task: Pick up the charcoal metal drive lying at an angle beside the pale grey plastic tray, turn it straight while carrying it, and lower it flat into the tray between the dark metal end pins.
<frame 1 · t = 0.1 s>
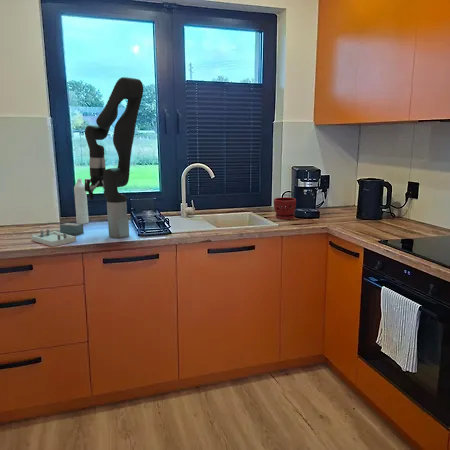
hand: (98, 198, 209), 17 cm above the worktop, tool pointing down, fingers open, 8 cm apart
drive: (72, 234, 209), on the worktop
plant pot: (284, 218, 248), on the worktop
water bottle: (84, 223, 235), on the worktop
tray: (53, 240, 195), on the worktop
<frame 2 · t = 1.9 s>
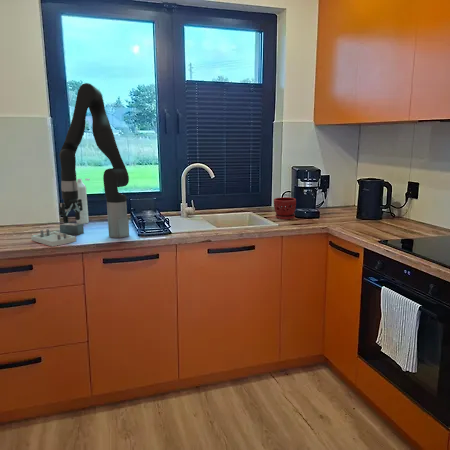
hand: (71, 221, 209), 6 cm above the worktop, tool pointing down, fingers open, 8 cm apart
nothing on the worktop moved.
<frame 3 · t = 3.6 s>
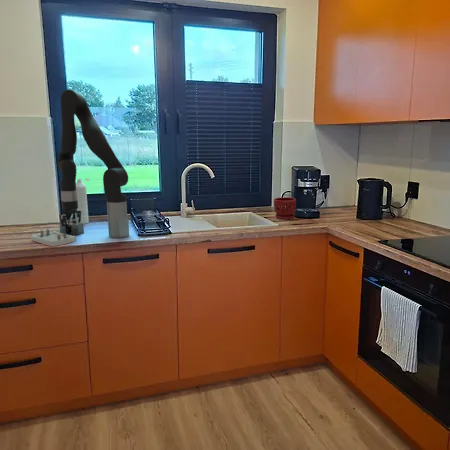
hand: (72, 232, 209), 1 cm above the worktop, tool pointing down, fingers closed on drive, 5 cm apart
drive: (72, 233, 209), on the worktop, touching gripper
everything else where it was.
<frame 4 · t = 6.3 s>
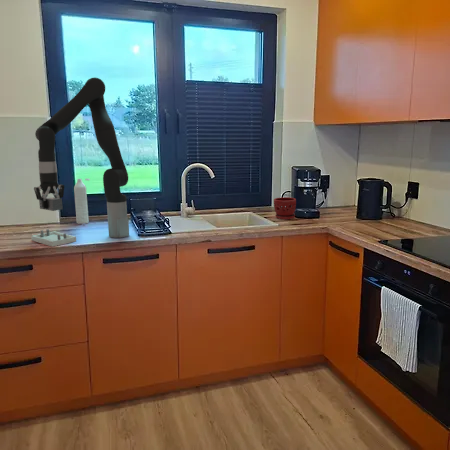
hand: (51, 207, 193), 16 cm above the worktop, tool pointing down, fingers closed on drive, 5 cm apart
drive: (51, 208, 193), point 15 cm above the worktop, touching gripper
everything else where it was.
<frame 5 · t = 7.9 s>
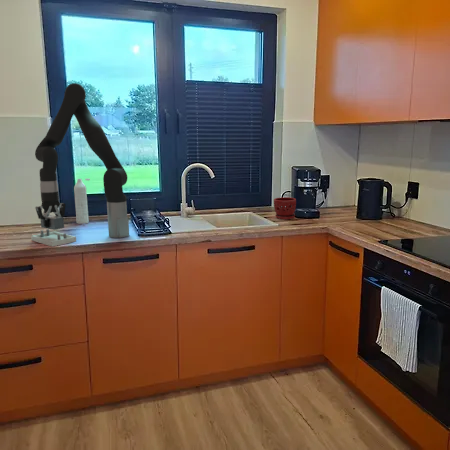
hand: (52, 226, 194), 7 cm above the worktop, tool pointing down, fingers closed on drive, 5 cm apart
drive: (52, 227, 194), point 6 cm above the worktop, touching gripper
everything else where it was.
when the fingers open (3 cm above the worktop, at t = 9.1 s): drive drops 1 cm, resting on tray.
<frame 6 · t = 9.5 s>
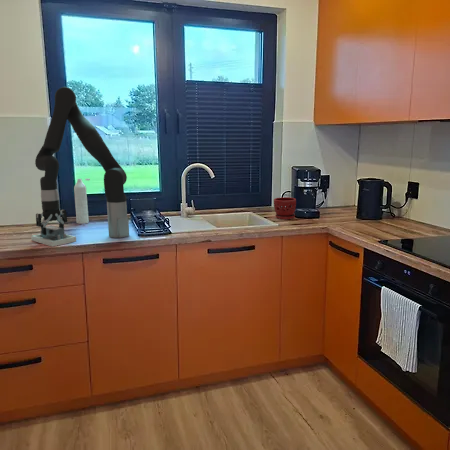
hand: (53, 233, 194), 4 cm above the worktop, tool pointing down, fingers open, 8 cm apart
drive: (53, 238, 195), point 1 cm above the worktop, touching tray
everything else where it was.
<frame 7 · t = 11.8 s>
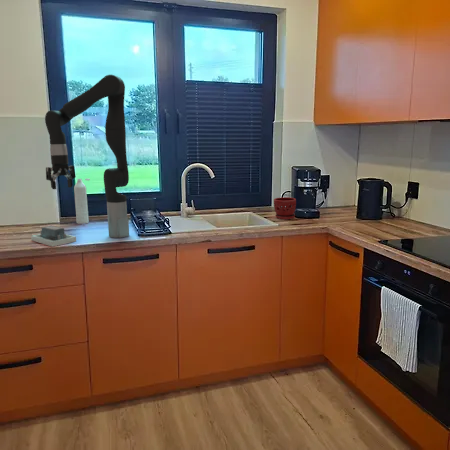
hand: (62, 188, 200), 24 cm above the worktop, tool pointing down, fingers open, 8 cm apart
nothing on the worktop moved.
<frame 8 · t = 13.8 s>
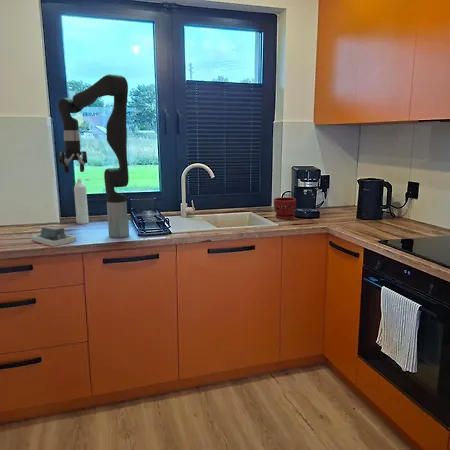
hand: (74, 172, 210), 30 cm above the worktop, tool pointing down, fingers open, 8 cm apart
nothing on the worktop moved.
at the end: drive 0.1 cm off-centre on the tray, point 1.2 cm above the tray's base; drive tilted 0°; the gripper is holding nothing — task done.
